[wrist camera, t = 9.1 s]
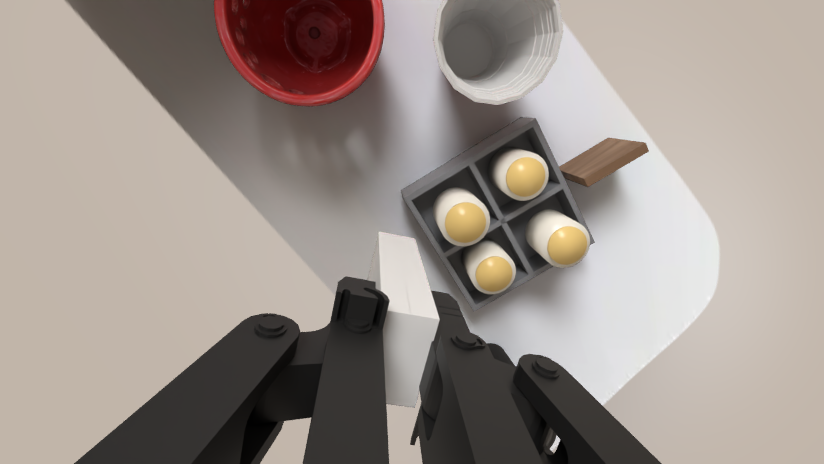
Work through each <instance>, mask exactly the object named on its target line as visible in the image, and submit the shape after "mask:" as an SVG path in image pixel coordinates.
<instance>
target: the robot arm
mask: <svg viewBox="0 0 824 464" xmlns="http://www.w3.org/2000/svg"><path fill="white" fill-rule="evenodd" d="M419 391H420V395H421V401H422V402H421V406H420V409H419V413H418V416H417V420H416V423H415V427H414V431H413V434H412V437H411V443H410V444H411V445H415V442H416V438H417V437H418V436H419V439H420V447H421V454H422V462H423V464H661V463H660V462H659V461H658V460H657V459H656V458H655V457H654V456H653V455H652V454H651V453H650V452H649V451H648V450H647V449H646V448H645V447H644V446H643V445H642V444H641V443H640V442H639V441H638V440H637V439H636V438H635V437H634V436H633V435H632V434H631V433H630V432H629V431H628V430H627V429H626V428H625V427H624V426H622V425H621V424H620V423H619V422H618V421H617V420H616V419H615V418H614V417H613V416H612V415H611V414H610V413H609V412H608V411H607V410H606V409H605V408H604V407H603V406H602V405H601V404H600V403H599V402H598V401H597V400H596V399H595V398H594V397H593V396H592V395H591V394H590V393H589V392H588V391H587V390H586V389H585V388H584V387H583V386H582V385H581V384H580V383H579V382H578V381H577V380H576V379H575V378H574V377H573V376H571V375H570V374H569V373H568V372H567V371H566V370H565V369H564V368H563V367H562V366H560V365H559V364H558V363H556V362H554V361H552V360H551V359H550V358H547V357H544V356H541V355H533V354H528V355H523V356H522V357H521V358H520V359H519V362H518V365H517V367H516V366H513V365H510V364H507V363H504V362H501V361H499V360H496V359H494V357H493V355H492V353H491V351H490V348H489V346H488V345H487V344H486V342H485V341H484V340H482V339H481V338H480V337H478V336H477V335H474V334H472V333H470V331H469V329H468V327H467V324H466V322H465V320H464V318H463V315H462V312H461V311H460V308H459V305H458V303H457V301H456V300H455V299H454V298H452V297H451V296H450V295H449V294H447V293H442V292H436V291H431V289H430V286H429V283H428V280H427V276H426V273H425V270H424V266H423V263H422V260H421V257H420V253H419V250H418V247H417V244H416V240H415V238H410V237H405V236H400V235H395V234H390V233H385V232H380V231H379V232H378V236H377V241H376V245H375V250H374V254H373V259H372V263H371V268H370V272H369V277H368V280H363V279H357V278H351V277H345V278H343V279H342V280H340V281H339V282H338V286H337V291H336V296H335V301H334V307H333V311H332V316H331V321H330V323H329V324H328V325H327V326H326V327H325V328H322V329H320V330H316V331H312V332H300V329H299V326H298V324H296V323H295V322H294V321H293V320H292V319H289V318H287V317H285V316H281V315H277V314H268V313H267V314H259V315H255V316H251V317H249V318H247V319H245V320H244V321H242V322H241V323H240V324H239V325H238V326H236V327H235V328H234V329H233V330H232V331H231V332H230V333H228V334H227V335H226V336H225V337H223V338H222V339H221V340H220V341H219V342H218V343H216V344H215V345H214V346H213V347H212V348H211V349H209V350H208V351H207V352H206V353H204V354H203V355H202V356H201V357H200V358H199V359H197V360H196V361H195V362H194V363H193V364H192V365H190V366H189V367H188V368H187V369H186V370H184V371H183V372H182V373H181V374H180V375H178V376H177V377H176V378H175V379H174V380H173V381H171V382H170V383H169V384H168V385H167V386H165V388H163V389H162V390H161V391H159V392H158V393H157V394H156V395H155V396H154V397H152V398H151V399H150V400H149V401H148V402H146V403H145V404H144V405H143V406H142V407H140V408H139V409H138V410H137V411H136V412H135V413H133V414H132V415H131V416H130V417H129V418H128V419H127V420H125V421H124V422H123V423H122V424H120V425H119V426H118V427H117V428H116V429H115V430H113V431H112V432H111V433H110V434H109V435H107V436H106V437H105V438H104V439H103V440H101V441H100V442H99V443H98V444H97V445H95V446H94V447H93V448H92V449H91V450H90V451H88V452H87V453H86V454H85V455H84V456H83V457H81V458H80V459H79V460H78V461H77V462H76V463H74V464H260V462H261V461H262V459H263V458H264V456H265V454H266V453H267V451H268V449H269V448H270V447H271V445H272V443H273V442H274V440H275V439H276V437H277V435H278V434H279V432H280V431H281V428H282V425H283V423H284V421H286V420H295V419H303V418H310V417H312V418H311V423H310V429H309V434H308V439H307V444H306V450H305V455H304V460H303V464H389V454H388V435H387V433H388V432H387V412H386V404H391V405H399V406H407V407H415V405H416V401H417V398H418V394H419ZM552 430H553V431H554V432H555V433H556V435H557V436H558V437H559V438H560V439H561V440H560V442H559V445H558V447H557V450H556V452H555V453H553V452H552V451H551V450H550V449H549V448H548V447H547V445H546V443H547V441H548V438H549V436H550V433H551V431H552Z"/></svg>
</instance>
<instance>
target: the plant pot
mask: <svg viewBox="0 0 824 464" xmlns="http://www.w3.org/2000/svg"><path fill="white" fill-rule="evenodd" d="M214 13H215V21H216V26H217V30H218V34H219V37H220V40H221V43H222V45H223V48H224V50H225V52H226V54H227V56H228V58H229V60H230V61H231V63H232V64H233V66H234V67H235V68H236V70H237V71H238V72H239V73H240V74H241V76H242V77H243V78H244V79H245V80H246V81H247V82H248V83H250V84H251V85H252V86H253V87H254V88H256V89H257V90H258V91H260V92H261V93H263V94H265V95H267V96H268V97H270V98H272V99H275V100H277V101H280V102H283V103H286V104H291V105H297V106H320V105H325V104H329V103H332V102H335V101H337V100H340V99H342V98H344V97H346V96H347V95H349V94H350V93H352V92H353V91H355V90H356V89H357V88H358V87H359V86H361V84H362V83H363V82H364V81H365V80H366V79H367V78H368V76H369V75H370V74H371V72H372V70H373V69H374V67H375V65H376V63H377V60H378V58H379V55H380V52H381V48H382V44H383V38H384V28H385V23H384V9H383V3H382V0H244V3H243V0H214Z"/></svg>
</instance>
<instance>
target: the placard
mask: <svg viewBox="0 0 824 464" xmlns="http://www.w3.org/2000/svg"><path fill="white" fill-rule="evenodd" d="M647 152H649V150H648V148H647V145H646V143H643V142H636V141H629V140H621V139H614V138H607V139H605V140H604V141H602V142H600V143H599V144H597V145H595V146H594V147H592V148H590V149H589V150H587V151H585V152H584V153H582V154H580V155H578V156H577V157H575V158H573V159H572V160H570V161H568V162H567V163H565V164H563V165H562V166H560V167H559V168H560V170H561V173H562V175H563V177H564V178H566V179H568V180H571V181H574V182H576V183H579V184H581V185H584V186H587V187H589V186H590V185H592V184H594V183H596V182H597V181H599V180H601V179H602V178H604V177H606V176H608V175H609V174H611V173H613V172H614V171H616V170H618V169H619V168H621V167H623V166H625V165H626V164H628V163H630V162H631V161H633V160H635V159H637V158H638V157H640V156H642V155H643V154H645V153H647Z"/></svg>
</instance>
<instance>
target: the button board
mask: <svg viewBox="0 0 824 464" xmlns="http://www.w3.org/2000/svg"><path fill="white" fill-rule="evenodd" d="M508 147H514V148H519V149H522V150H525V151H529V152H532V153H535V154H537V155H539V156H540V157H542V158H543V159H544V161H545V162H546V164H547V167H548V171H549V177H548V182H547V184H546V186H545V188H544V190H543V191H542V192H541V193H540V194H539V195H538V196H536V197H534V198H533V199H530V200H525V201H520V200H516V199H513V198H511V197H510V196H508V195H507V194H505V193H504V192H502V191H501V190H499V189H498V188H496V187H495V186H494V185H493V184H492V182H491V181H490V179H489V175H488V167H489V163H490V161H491V159H492V158H493V156H494V155H495V154H496V153H497V152H499V151H500V150H502V149H504V148H508ZM454 187H459V188H464V189H466V190H468V191H470V192H471V193H472V194H473V195H474V196H475V197H476V198H477V199H479V200H480V201H481V202H482V203H483V204H484V205H485V206H486V208H487V210H488V212H489V215H490V225H489V229H488V231H487V233H486V234H485V236H484V237H483V238H489V239H492V240H494V241H496V242H497V243H498V244H499V245H500V247H501V248H502V249H503V250H504V251H505V252H506V253H507V254H508V256H509V257H510V258H511V259H512V260H513V262H514V264H515V267H516V275H515V278H514V281H513V282H512V284H511V285H510V286H509V287H508V288H507V289H506V290H504V291H503V292H500V293H497V294H486V293H483V292H481V291H479V290H478V289H477V288H476V287H475V286H474V285H473V283H472V281H471V279H470V277H469V276H468V274H467V272H466V270H465V268H464V266H463V264H462V253H463V251H464V249H465V247H466V246H457V245H454V244H452V243H450V242H449V241H447V240H446V239H445V237H444V236H443V234H442V232H441V231H440V229H439V227H438V225H437V223H436V221H435V219H434V216H433V205H434V202H435V200H436V198H437V197H438V196H439V195H440V194H441V193H442V192H443V191H445V190H447V189H449V188H454ZM401 192H402V195H403V198H404V200H405V202H406V203H407V205H408V206H409V208H410V210H411V211H412V213H413V214H414V216H415V218H416V219H417V221H418V222H419V224H420V226H421V227H422V229H423V231H424V232H425V234H426V235H427V237H428V239H429V240H430V242H431V243H432V245H433V247H434V248H435V250H436V251H437V253H438V255H439V256H440V258H441V260H442V261H443V263H444V264H445V266H446V268H447V269H448V271H449V272H450V274H451V276H452V277H453V279H454V280H455V282H456V284H457V285H458V287H459V289H460V290H461V292H462V293H463V295H464V297H465V298H466V300H467V301H468V303H469V305H470V306H471V308H472V310H473V311H476V310H478V309H479V308H481V307H483V306H485V305H486V304H488V303H490V302H492V301H493V300H495V299H497V298H499V297H500V296H502V295H504V294H505V293H507V292H509V291H511V290H512V289H514V288H516V287H518V286H519V285H521V284H523V283H525V282H526V281H528V280H530V279H532V278H533V277H535V276H537V275H539V274H540V273H542V272H544V271H546V270H547V269H549V268H551V267H553V265H551V264H550V263H549V262H547V261H546V260H545V259H544V258H543V257H542V256H541V255H540V254H539V253H537V252H536V251H535V250H534V249H533V248H532V247H531V246H530V245H529V244H528V242H527V240H526V236H525V230H526V226H527V224H528V222H529V220H530V219H531V218H532V217H533V216H534V215H535V214H536V213H538V212H540V211H543V210H548V209H551V210H556V211H558V212H560V213H562V214H564V215H565V216H567V217H569V218H571V219H572V220H574V221H576V222H578V223H579V224H581V225H582V226H584V227H585V228H586V230H587V231H588V233H589V237H590V245H591V244H593V243H595V242H594V240H593V238H592V235H591V233H590V231H589V229H588V227H587V225H586V223H585V221H584V219H583V217H582V215H581V212H580V210H579V208H578V206H577V204H576V202H575V200H574V198H573V196H572V194H571V191H570V189H569V187H568V185H567V183H566V181H565V179H564V177H563V175H562V173H561V170H560V168H559V166H558V164H557V162H556V160H555V158H554V156H553V154H552V152H551V149H550V147H549V145H548V143H547V141H546V139H545V137H544V135H543V133H542V131H541V129H540V126H539V124H538V122H537V120H536V118H523V117H521V118H519V119H517V120H516V121H514V122H513V123H511V124H509V125H508V126H506V127H504V128H503V129H501V130H499V131H498V132H496V133H495V134H493V135H491V136H490V137H488V138H486V139H485V140H483V141H481V142H480V143H478V144H476V145H475V146H473V147H472V148H470V149H468V150H467V151H465V152H463V153H462V154H460V155H458V156H457V157H455V158H453V159H452V160H450V161H449V162H447V163H445V164H444V165H442V166H440V167H439V168H437V169H435V170H434V171H432V172H430V173H429V174H427V175H426V176H424V177H422V178H421V179H419V180H417V181H416V182H414V183H412V184H411V185H409V186H407V187H406V188H404V189H403V190H401Z"/></svg>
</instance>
